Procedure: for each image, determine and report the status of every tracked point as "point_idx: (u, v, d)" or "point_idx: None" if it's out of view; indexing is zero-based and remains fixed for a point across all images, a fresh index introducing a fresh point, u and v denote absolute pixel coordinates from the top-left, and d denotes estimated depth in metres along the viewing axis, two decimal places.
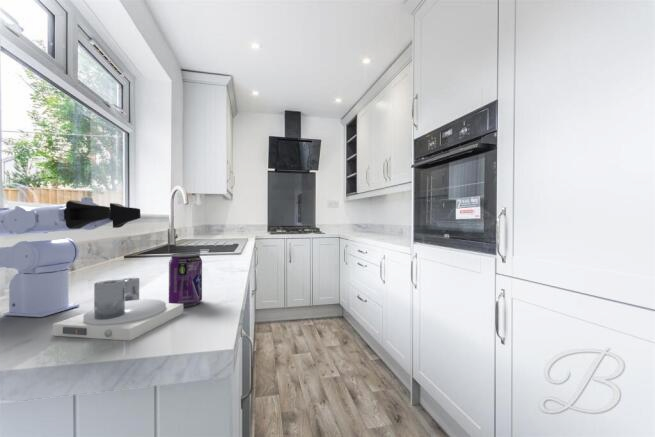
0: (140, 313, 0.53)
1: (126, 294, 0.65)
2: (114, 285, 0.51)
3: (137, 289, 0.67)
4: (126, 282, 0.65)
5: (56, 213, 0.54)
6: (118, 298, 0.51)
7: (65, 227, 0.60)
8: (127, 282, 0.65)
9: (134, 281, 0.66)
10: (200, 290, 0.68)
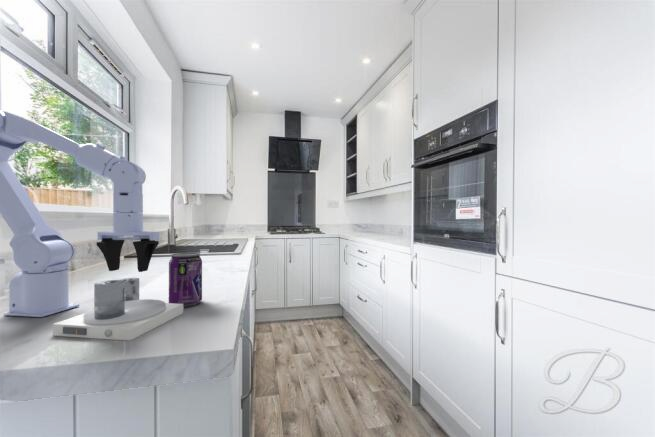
0: (140, 313, 0.53)
1: (126, 294, 0.65)
2: (114, 285, 0.51)
3: (137, 289, 0.67)
4: (126, 282, 0.65)
5: (156, 237, 0.67)
6: (118, 298, 0.51)
7: (127, 217, 0.65)
8: (127, 282, 0.65)
9: (134, 281, 0.66)
10: (200, 290, 0.68)
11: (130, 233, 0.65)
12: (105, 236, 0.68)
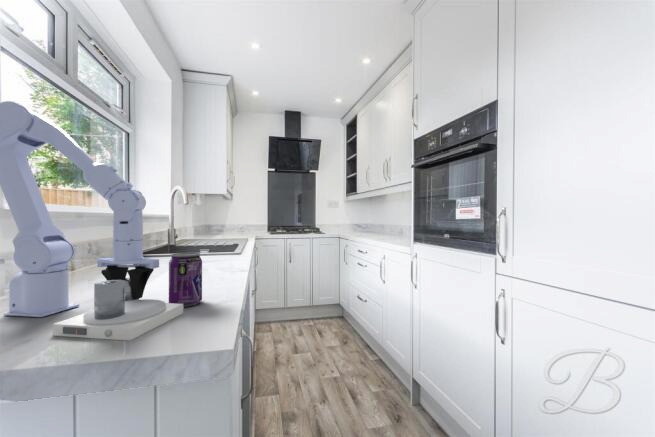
0: (140, 313, 0.53)
1: (126, 294, 0.65)
2: (114, 285, 0.51)
3: None
4: (126, 282, 0.65)
5: (156, 265, 0.67)
6: (118, 298, 0.51)
7: (127, 246, 0.65)
8: (127, 282, 0.65)
9: None
10: (200, 290, 0.68)
11: (130, 261, 0.65)
12: (105, 263, 0.68)
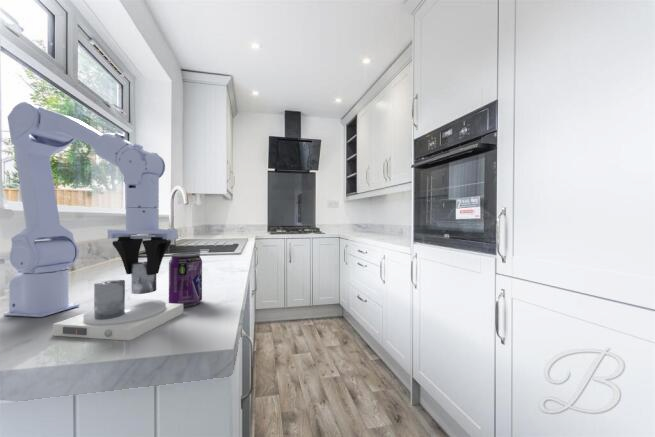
0: (140, 313, 0.53)
1: (144, 278, 0.58)
2: (114, 285, 0.51)
3: None
4: (144, 265, 0.58)
5: (174, 236, 0.59)
6: (118, 298, 0.51)
7: (141, 213, 0.57)
8: (145, 265, 0.58)
9: None
10: (200, 290, 0.68)
11: (145, 231, 0.57)
12: (116, 234, 0.60)
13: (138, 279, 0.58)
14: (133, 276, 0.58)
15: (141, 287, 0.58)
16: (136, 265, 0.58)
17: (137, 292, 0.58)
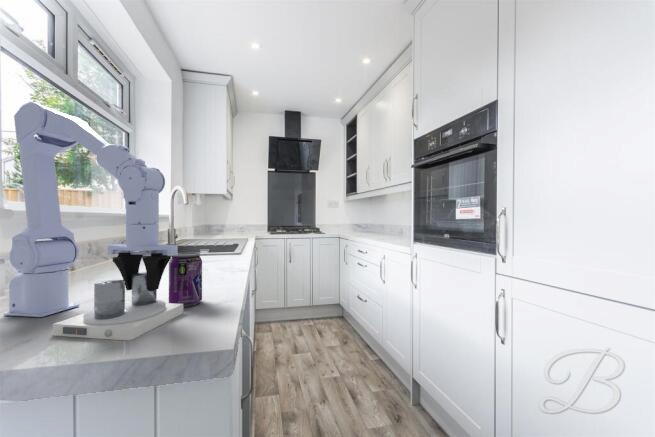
0: (140, 313, 0.53)
1: (144, 289, 0.58)
2: (114, 285, 0.51)
3: None
4: (144, 276, 0.58)
5: (174, 252, 0.59)
6: (118, 298, 0.51)
7: (141, 230, 0.57)
8: (145, 276, 0.58)
9: None
10: (200, 290, 0.68)
11: (145, 247, 0.57)
12: (116, 250, 0.60)
13: (138, 290, 0.58)
14: (133, 288, 0.58)
15: (141, 299, 0.58)
16: (136, 277, 0.58)
17: (137, 304, 0.58)
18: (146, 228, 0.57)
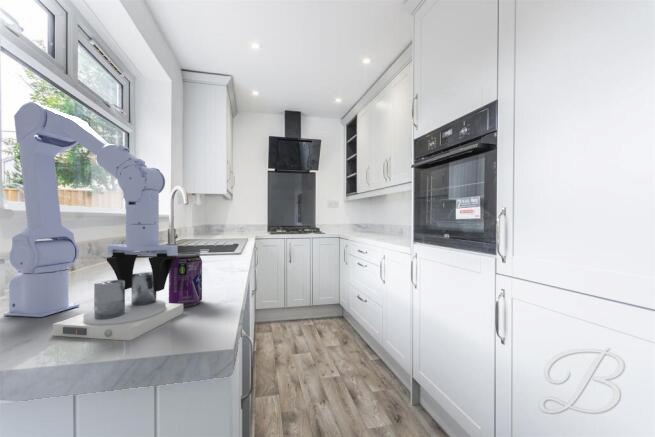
0: (140, 313, 0.53)
1: (144, 289, 0.58)
2: (114, 285, 0.51)
3: None
4: (144, 276, 0.58)
5: (174, 252, 0.59)
6: (118, 298, 0.51)
7: (141, 230, 0.57)
8: (145, 276, 0.58)
9: (152, 275, 0.59)
10: (200, 290, 0.68)
11: (145, 248, 0.57)
12: (116, 250, 0.60)
13: (138, 290, 0.58)
14: (133, 288, 0.58)
15: (141, 299, 0.58)
16: (136, 277, 0.58)
17: (137, 304, 0.58)
18: (146, 228, 0.57)
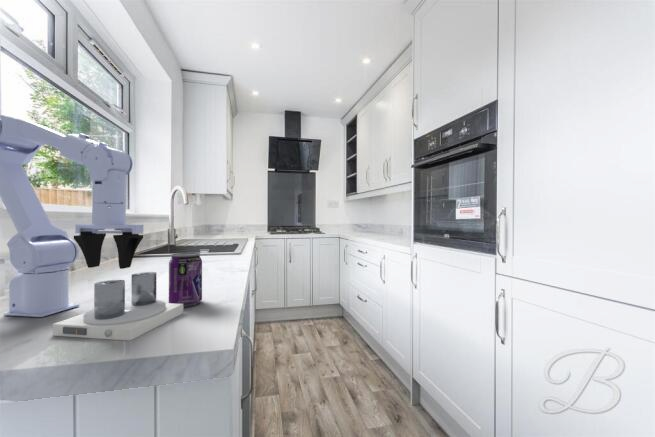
0: (140, 313, 0.53)
1: (144, 289, 0.58)
2: (114, 285, 0.51)
3: (155, 284, 0.60)
4: (144, 276, 0.58)
5: (140, 231, 0.60)
6: (118, 298, 0.51)
7: (107, 208, 0.59)
8: (145, 276, 0.58)
9: (152, 275, 0.59)
10: (200, 290, 0.68)
11: (110, 226, 0.58)
12: (84, 229, 0.62)
13: (138, 290, 0.58)
14: (133, 288, 0.58)
15: (141, 299, 0.58)
16: (136, 277, 0.58)
17: (137, 304, 0.58)
18: (112, 207, 0.59)
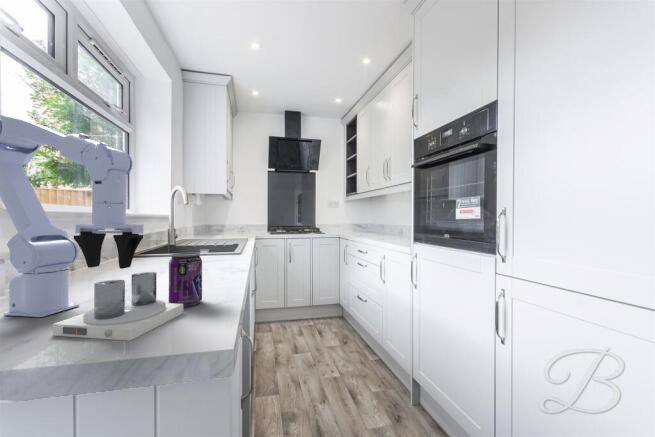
0: (140, 313, 0.53)
1: (144, 289, 0.58)
2: (114, 285, 0.51)
3: (155, 284, 0.60)
4: (144, 276, 0.58)
5: (140, 231, 0.60)
6: (118, 298, 0.51)
7: (107, 208, 0.59)
8: (145, 276, 0.58)
9: (152, 275, 0.59)
10: (200, 290, 0.68)
11: (110, 226, 0.58)
12: (84, 229, 0.62)
13: (138, 290, 0.58)
14: (133, 288, 0.58)
15: (141, 299, 0.58)
16: (136, 277, 0.58)
17: (137, 304, 0.58)
18: (111, 207, 0.59)
